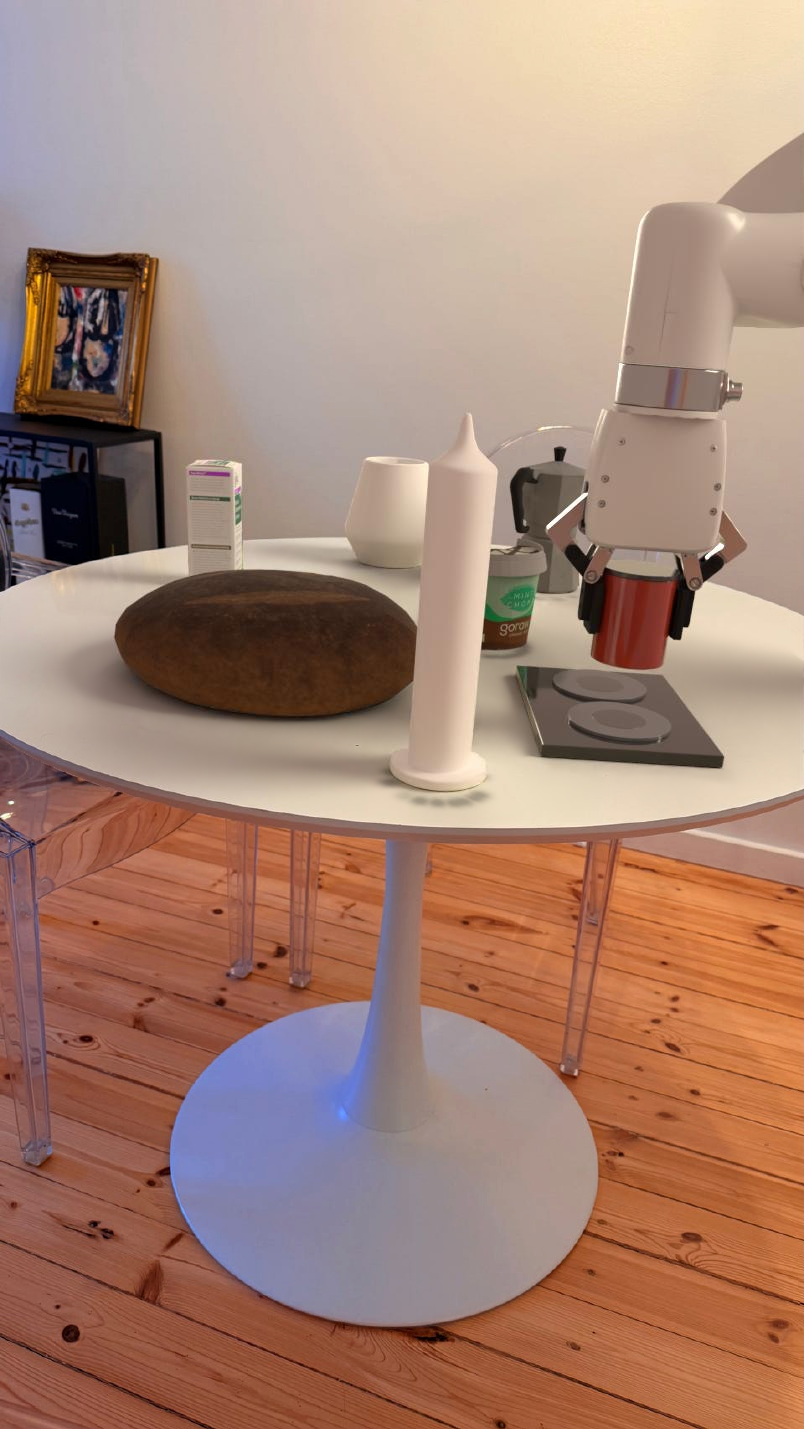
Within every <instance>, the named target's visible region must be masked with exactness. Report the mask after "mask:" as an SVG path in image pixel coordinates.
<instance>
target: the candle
mask: <svg viewBox="0 0 804 1429" xmlns="http://www.w3.org/2000/svg"><path fill="white" fill-rule="evenodd" d="M461 419H462V420H461V422H460V426H459V430H458V433H457V436H456V438H455V439H454V442H453V444H452V445H451V447H450V448H448V449H447V450H445V451H444V452H443V453H441V455H439V456H438V457H436V458H435V459H434V460H432V461H431V462H430V463H429V464H428V465H429V471H428V485H427V499H426V513H425V527H424V541H423V555H422V564H421V570H420V571H421V572H420V585H419V599H418V610H417V612H418V613H417V625H416V626H417V639H416V653H415V667H414V681H412V697H411V712H410V722H409V723H410V725H409V738H408V739H409V740H408V745H406V746H404V747H401V748H399V749H397V750H395V751H394V753H392V754H391V756H390V759H389V770H390V773H391V774H392V775H393V776H394V777H395V778H396V779H398V780H399V781H400V782H403V783H404V784H407V785H409V786H412V787H414V788H415V787H416V788H418V789H423V790H429V791H437V792H438V791H439V792H451V791H452V792H455V791H463V790H467V789H472V788H474V787H476V786H478V785H481V783H483V782H484V781H485V780H486V778H487V775H488V764H487V762H486V760H485V759H484V758H483V757H482V756H481V755H480V754H478V753H476V752H475V751H472V749H473V748H472V747H473V736H474V726H475V717H476V705H477V694H478V684H479V672H480V664H481V651H482V649H481V643H482V633H483V622H484V612H485V601H486V591H487V581H488V570H489V560H490V549H492V540H493V539H492V538H493V537H492V536H493V527H494V526H493V525H494V516H495V508H496V507H495V505H496V495H497V484H498V476H499V475H498V474H499V470H498V468H497V466H496V465H495V464H494V463H493V462H492V461H490V459H489V458H488V457H486V455H485V454H484V453H483V452H482V451H481V450H480V449H479V446H478V444H477V441H476V436H475V430H474V423H473V422H474V420H473V415H472V413H470V412H466V413H464V414H463V416H462V418H461Z"/></svg>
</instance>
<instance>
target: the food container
mask: <svg viewBox="0 0 804 1429" xmlns="http://www.w3.org/2000/svg"><path fill="white" fill-rule="evenodd" d="M546 570H547V565H546V555H545V553H544V548H543V547H542V546H541V545H540V544H537V543H535V542H532V541H529V540H524V539H521V538H519V537H517V539H516V544H515V546H512V547H509V548H491V549H490V560H489V570H488V581H487V591H486V601H485V612H484V622H483V633H482V643H481V650H495V651H496V650H498V651H499V650H511V649H512V650H513V649H516V648H521V647H523V646H525V645H526V644H527V641H528V637H529V631H530V626H531V622H532V615H533V610H534V605H535V600H536V596H537V592H536V590H537V585H538V580H539V575H540V573H543V572H545V571H546Z"/></svg>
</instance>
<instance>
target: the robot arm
mask: <svg viewBox="0 0 804 1429" xmlns="http://www.w3.org/2000/svg"><path fill="white" fill-rule="evenodd" d="M636 235H637V236H636V242H635V248H634V254H633V255H634V256H633V263H632V271H631V279H630V285H629V293H628V300H627V309H626V315H625V321H624V329H623V336H622V342H621V343H622V344H621V352H620V359H619V365H618V373H617V379H616V385H615V386H616V387H615V392H614V393H615V394H614V402H613V408H602V409H601V412H600V414H599V417H598V419H597V423H596V426H595V430H594V434H593V437H592V441H591V443H590V444H591V445H590V449H589V453H588V458H587V461H586V467H585V469H586V471H585V476H584V482H583V487H582V492H581V496H580V497H579V498H578V499H577V500H576V501H575V502H573V503H572V504H571V505H570V506H569V507H568V508H567V509H566V510H564V511H563V512H562V513H561V514H560V515H559V516H558V517H556V518H555V519H554V520H553V521H552V522H551V523H550V524H548V525H547V527H546V529H545V531H546V534H547V535H548V537H549V538H550V539H551V540H552V541H553V542H554V544H555V545H556V546H557V547H558V548H559V549H560V551H561V552H562V553H563V554H564V555H565V556H566V557H567V559H568V560H569V561H570V562H571V564H572V565H573V566H574V567H575V569H576V570H577V571H578V572H579V576H581V584H580V592H579V600H578V606H577V619H578V621H582V625H583V627H584V629H585V631H586V632H587V634H588V635H593V634H596V633H598V632H599V626H600V619H601V612H602V605H603V598H604V591H605V586H604V585H603V583H602V582H601V581H602V572H603V570H604V569H605V567H606V565H607V563H608V561H609V560H611V558H612V556H613V554H614V552H615V550H630V551H642V552H643V551H644V552H658V553H670V554H671V553H672V554H673V559H674V563H675V568H676V569H678V570H679V571H680V578H679V579H678V583H677V589H676V595H675V601H674V607H673V613H672V619H671V624H670V630H669V636H668V637H669V638H670V639H672V640H673V641H681V640H682V637H683V632H684V631H683V630H684V628H686V629H688V628H689V627H690V625H691V620H692V612H693V607H694V603H695V597H696V592H697V591H699V590H700V589H702V587H703V585H704V583H705V582H707V581H708V580H709V579H711V578H712V577H713V576H715V574H717V573H718V572H719V571H721V570H722V569H723V568H724V566H725V565H727V564H728V563H730V562H732V560H734V559H735V558H737V557H738V556H739V555H741V554H742V553H743V552H745V551H746V549H747V548H748V543H747V541H746V540H745V538H744V536H742V534H741V532H740V531H739V530H738V528H737V527H736V525H735V524H734V523H733V520H731V518H730V517H729V516H728V513H727V512H726V511H725V510H724V508H723V506H724V498H725V487H726V475H727V455H728V454H727V452H728V436H727V434H728V433H727V432H728V430H727V419H726V418H724V417H719V412H720V411H722V410H723V406H724V405H725V404H728V403H730V402H735V403H736V402H737V403H738V402H740V400H741V398H742V395H743V389H744V388H743V387H744V386H743V383H742V382H735V381H733V380H732V379H729V372H726V371H727V368H728V360H729V355H730V349H731V343H732V339H733V332H734V328H756V329H797V328H804V131H803V132H802V133H801V134H798V135H797V136H796V137H795V138H793V139H792V140H790V141H789V142H787V143H786V144H784V145H783V146H781V147H780V148H778V149H776V150H775V151H773V153H771V154H769V155H768V156H767V157H766V158H764V159H763V160H761V161H760V162H759V163H758V164H756V165H755V166H754V167H753V168H751V169H750V170H749V171H748V172H747V173H745V174H744V175H743V176H742V177H741V178H740V179H738V181H736V182H735V183H734V184H733V185H731V187H730V188H729V189H728V190H727V191H726V192H725V193H724V194H723V196H721V197H720V198H719V200H717V202H716V203H715V202H706V201H704V202H703V201H675V202H667V203H666V202H665V203H661V204H657V205H655V206H653V207H651V208H650V209H649V210H647V211H646V212H645V214H644V215H643V216H642V219H641V220H640V223H639V224H638V230H637V234H636ZM577 524H578V526H577V530H578V531H579V532H580V533H581V534H583V535H584V536H585V538H586V539H587V541H588V542H590V545H589V546H588V548H587V550H586V551H585V552H584V551H583V550H582V549H581V548H580V546H579V544H578V545H577V544H576V543H575V542H574V541H573V540H572V538H571V537H570V531H571V529H572V528H573V527H575V526H576V525H577ZM718 537H719V540H720V541H719V543H718V545H717V546H715V544H716V542H717V540H718ZM714 546H715V547H714ZM713 547H714V548H713ZM711 549H712V550H711ZM709 550H711V551H709ZM704 552H706V553H705V554H703V555H702V556H701V557H700V558H699V556H698V555H699V554H700V553H704Z"/></svg>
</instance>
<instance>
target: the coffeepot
mask: <svg viewBox="0 0 804 1429" xmlns="http://www.w3.org/2000/svg"><path fill="white" fill-rule="evenodd" d="M567 449H568V448H566V447H564V446H561V445H559V446H555V447H553V457H554V460H552V461H547V462H541V463H537V464H532V465H531V464H530V465H527V466H524V467H523V466H522V467H520V468H518V469H517V470H516V472H515V473H514V475H513V476H512V478H511V479H510V482H509V492H510V498H511V507H512V515H513V522H514V530H515V532H516V533H517V534H521V535H522V536H521V538H520V539H524V540H529V541H532V542H535V543H537V544H540V545H541V546H542V547H543V548H544V553H545V555H546V565H547V570H546V571H545V572H543V573H540V575H539V580H538V585H537V590H536V593H542V594H543V593H546V594H569V593H573V592H575V591H577V589H578V587H580V573H579V572H578V571H577V570H576V569H575V567H574V566H573V565H572V564H571V562H570V561H569V560H568V559H567V557H566V556H565V555H564V554H563V553H562V552H561V551H560V549H559V548H558V547H557V546H556V545H555V544H554V542H553V541H552V540H551V539H550V538H549V537H548V535H547V534H546V531H545V529H546V527H547V525H548V524H550V523H551V522H552V521H553V520H554V519H555V518H556V517H558V516H559V515H560V514H561V513H562V512H563V511H564V510H566V509H567V508H568V507H569V506H570V505H571V504H572V503H573V502H575V501H576V500H577V499H578V498H579V497H580V496H581V492H582V487H583V482H584V476H585V471H586V468H583V467H579V466H577V465H574V464H571V463H568V462H566V461H564V460H565V456H566V454H567ZM524 521H525V524H524ZM577 532H578V524H577V525H576V526H575V527H573V528H572V529H571V531H570V537H571V538H572V540H573V541H574V542H575V543H576V544H577V545H578V546H579V540H578V539H577V538H576V537H577Z"/></svg>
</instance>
